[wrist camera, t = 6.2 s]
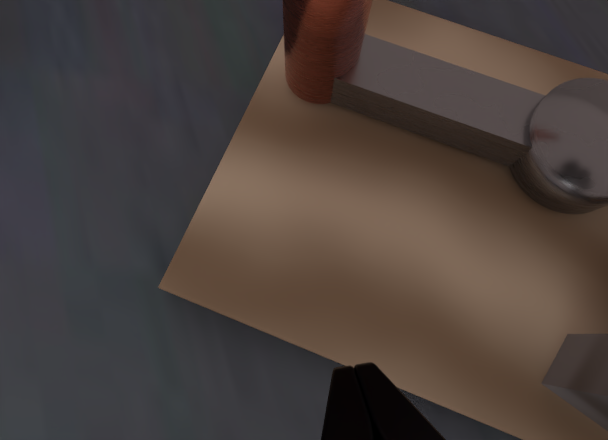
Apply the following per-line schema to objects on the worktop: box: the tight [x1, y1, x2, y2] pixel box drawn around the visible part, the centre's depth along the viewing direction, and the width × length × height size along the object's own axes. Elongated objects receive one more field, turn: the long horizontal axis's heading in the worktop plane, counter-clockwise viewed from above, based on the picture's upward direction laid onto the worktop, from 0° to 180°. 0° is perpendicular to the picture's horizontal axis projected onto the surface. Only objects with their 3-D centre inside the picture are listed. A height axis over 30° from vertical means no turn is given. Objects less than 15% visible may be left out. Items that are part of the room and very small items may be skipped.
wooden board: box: [158, 0, 608, 440], centre depth 15 cm, size 15×20×4 cm
